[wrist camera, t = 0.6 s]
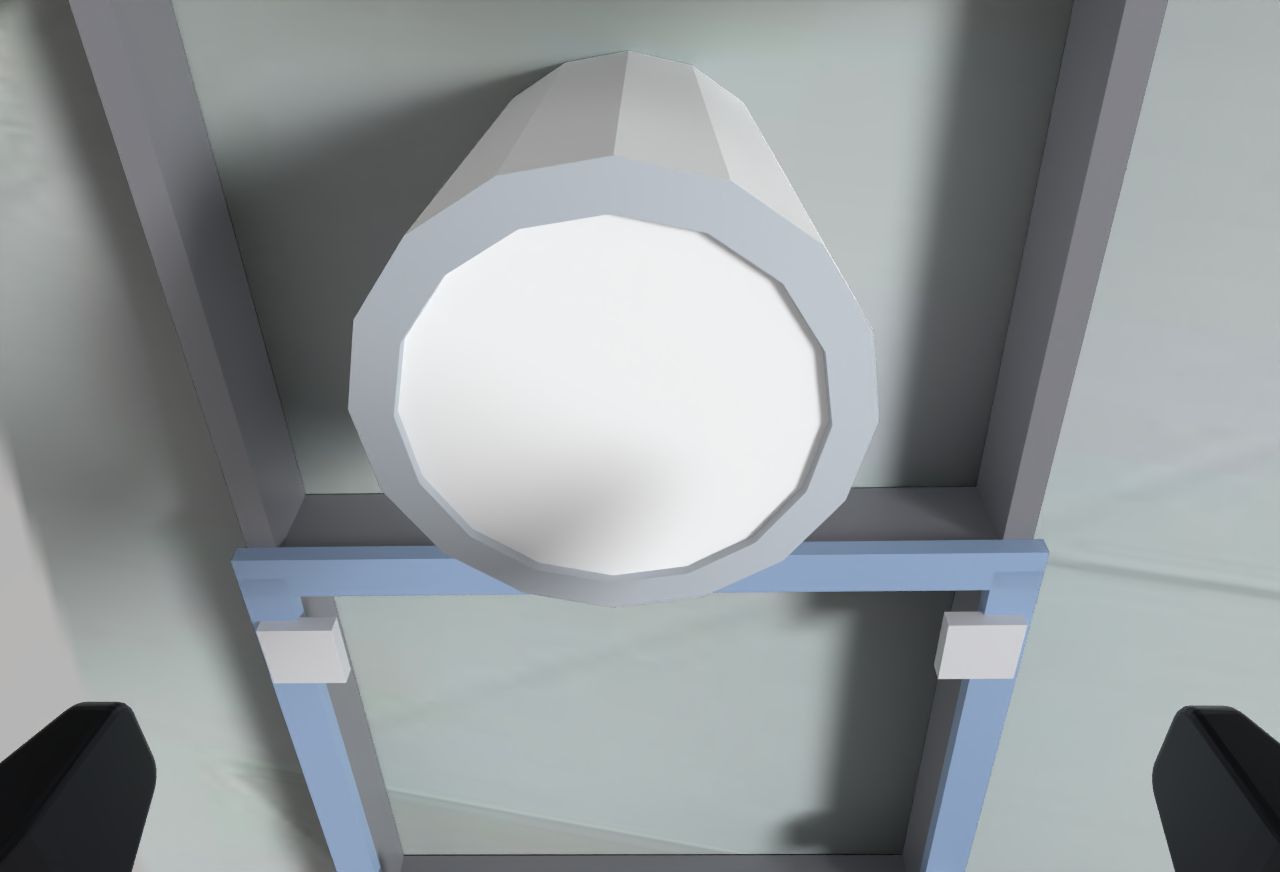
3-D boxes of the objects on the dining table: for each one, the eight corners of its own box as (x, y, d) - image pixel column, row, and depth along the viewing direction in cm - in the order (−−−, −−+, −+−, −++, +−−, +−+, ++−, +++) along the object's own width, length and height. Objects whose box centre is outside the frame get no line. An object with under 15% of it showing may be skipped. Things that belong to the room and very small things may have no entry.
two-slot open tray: (925, 870, 31) (946, 960, 28) (382, 871, 31) (360, 959, 29) (1187, -279, 15) (1281, -280, 12) (50, -242, 15) (-55, -235, 13)
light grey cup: (714, 414, 21) (733, 666, 16) (396, 293, 20) (289, 524, 14) (886, 113, 18) (994, 298, 12) (512, -61, 16) (432, 56, 11)
